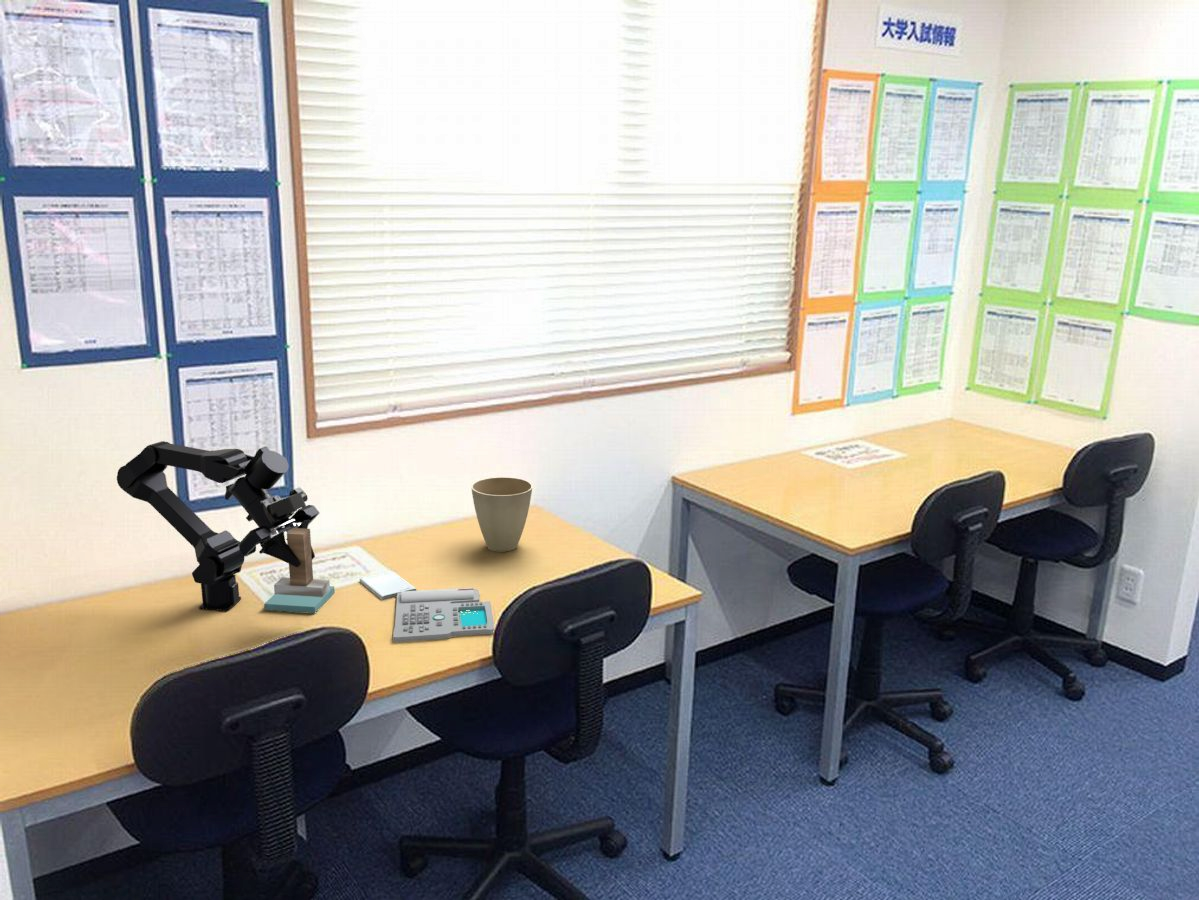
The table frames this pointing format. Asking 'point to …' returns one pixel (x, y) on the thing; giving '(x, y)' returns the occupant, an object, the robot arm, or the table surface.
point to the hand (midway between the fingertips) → (306, 562)
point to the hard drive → (386, 584)
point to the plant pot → (501, 510)
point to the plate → (297, 602)
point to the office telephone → (441, 614)
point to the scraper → (301, 569)
